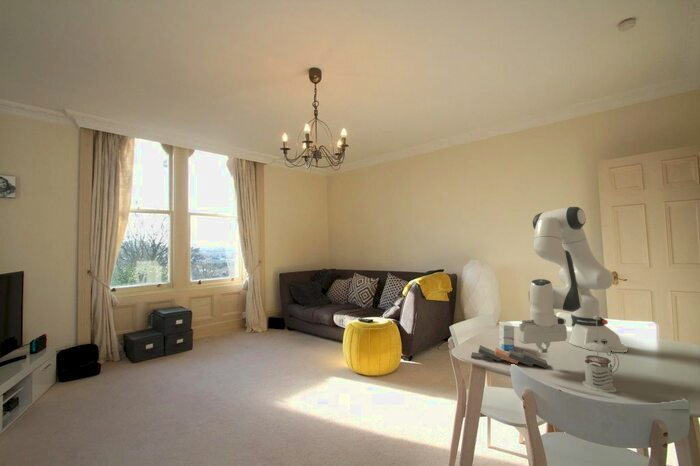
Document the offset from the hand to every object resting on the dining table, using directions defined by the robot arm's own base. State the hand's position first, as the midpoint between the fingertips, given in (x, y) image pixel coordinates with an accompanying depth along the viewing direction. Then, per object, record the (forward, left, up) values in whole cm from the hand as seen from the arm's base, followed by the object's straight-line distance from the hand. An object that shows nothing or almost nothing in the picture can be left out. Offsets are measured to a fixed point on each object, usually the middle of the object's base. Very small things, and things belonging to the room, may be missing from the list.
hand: (542, 352), depth 133 cm
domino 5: (-1, 0, -5) cm, 5 cm away
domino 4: (+4, 0, -5) cm, 6 cm away
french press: (-17, +12, -6) cm, 22 cm away
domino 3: (+10, 0, -5) cm, 11 cm away
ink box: (+14, -19, -6) cm, 24 cm away
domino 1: (+19, 0, -5) cm, 20 cm away
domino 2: (+16, 0, -4) cm, 17 cm away
